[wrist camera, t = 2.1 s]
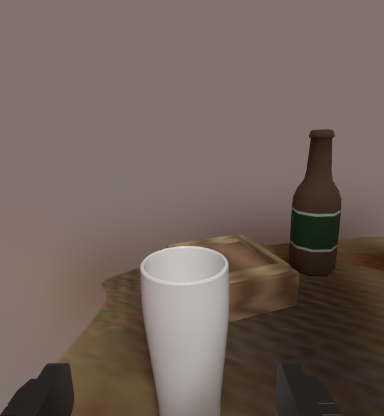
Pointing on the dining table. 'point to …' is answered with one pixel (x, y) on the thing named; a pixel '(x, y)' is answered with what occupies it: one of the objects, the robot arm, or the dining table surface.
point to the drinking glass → (186, 327)
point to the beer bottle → (316, 212)
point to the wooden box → (253, 276)
